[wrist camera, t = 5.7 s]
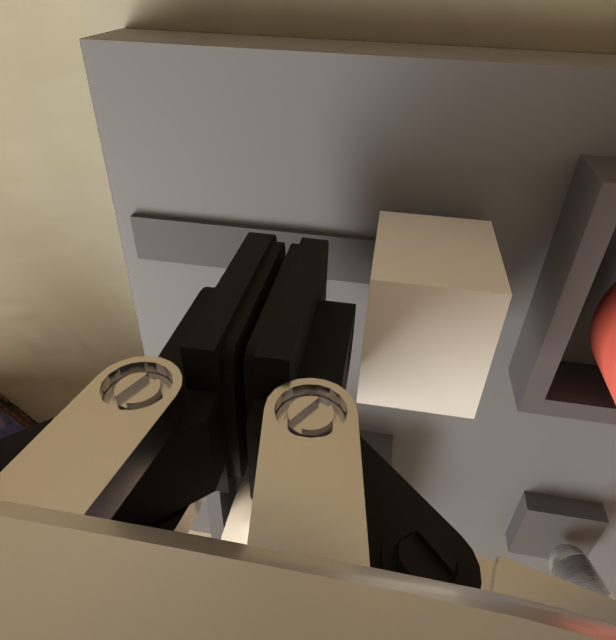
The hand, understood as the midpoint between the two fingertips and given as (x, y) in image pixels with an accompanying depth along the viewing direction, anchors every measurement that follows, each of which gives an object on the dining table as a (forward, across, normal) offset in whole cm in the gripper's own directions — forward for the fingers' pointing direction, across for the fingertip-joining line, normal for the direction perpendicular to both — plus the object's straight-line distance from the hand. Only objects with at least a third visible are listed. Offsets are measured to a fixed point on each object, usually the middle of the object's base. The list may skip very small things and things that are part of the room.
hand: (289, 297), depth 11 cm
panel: (+4, -4, +4) cm, 7 cm away
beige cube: (+2, -3, 0) cm, 3 cm away
